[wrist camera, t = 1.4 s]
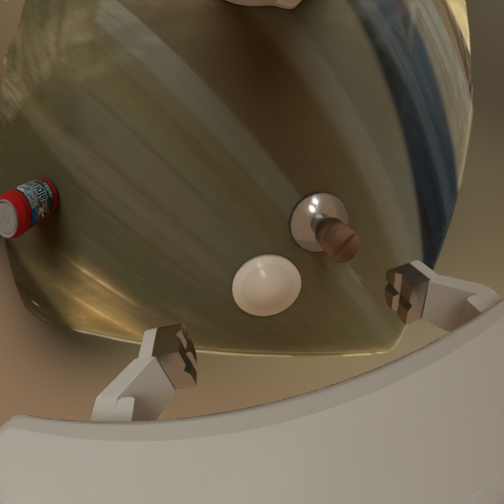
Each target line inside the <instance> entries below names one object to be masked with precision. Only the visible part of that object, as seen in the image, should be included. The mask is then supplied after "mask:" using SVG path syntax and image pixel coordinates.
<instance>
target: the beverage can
mask: <svg viewBox="0 0 504 504" xmlns="http://www.w3.org/2000/svg"><path fill="white" fill-rule="evenodd" d="M57 201H58V196H57V191H56V188H55V186H54V184H53V183H52V182H51V181H50V180H49V179H47V178H43V177H41V178H37V179H35V180H32V181H30V182H27V183H25V184H23V185H20V186H18V187H16V188H14V189H12V190H9V191H7V192H5V193H4V194H2V195H1V196H0V234H1V235H2V236H3V237H6V238H9V237H12V238H17V237H19V236H21V235H22V234H24V233H25V232H26V231H28V230H29V229H31V228H32V227H33V226H35V225H36V224H38V223H39V222H40V221H42V220H43V219H45V218H46V217H47V216H49V215H50V214H51V213H53V211H54V210H55V208H56V206H57Z"/></svg>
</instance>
